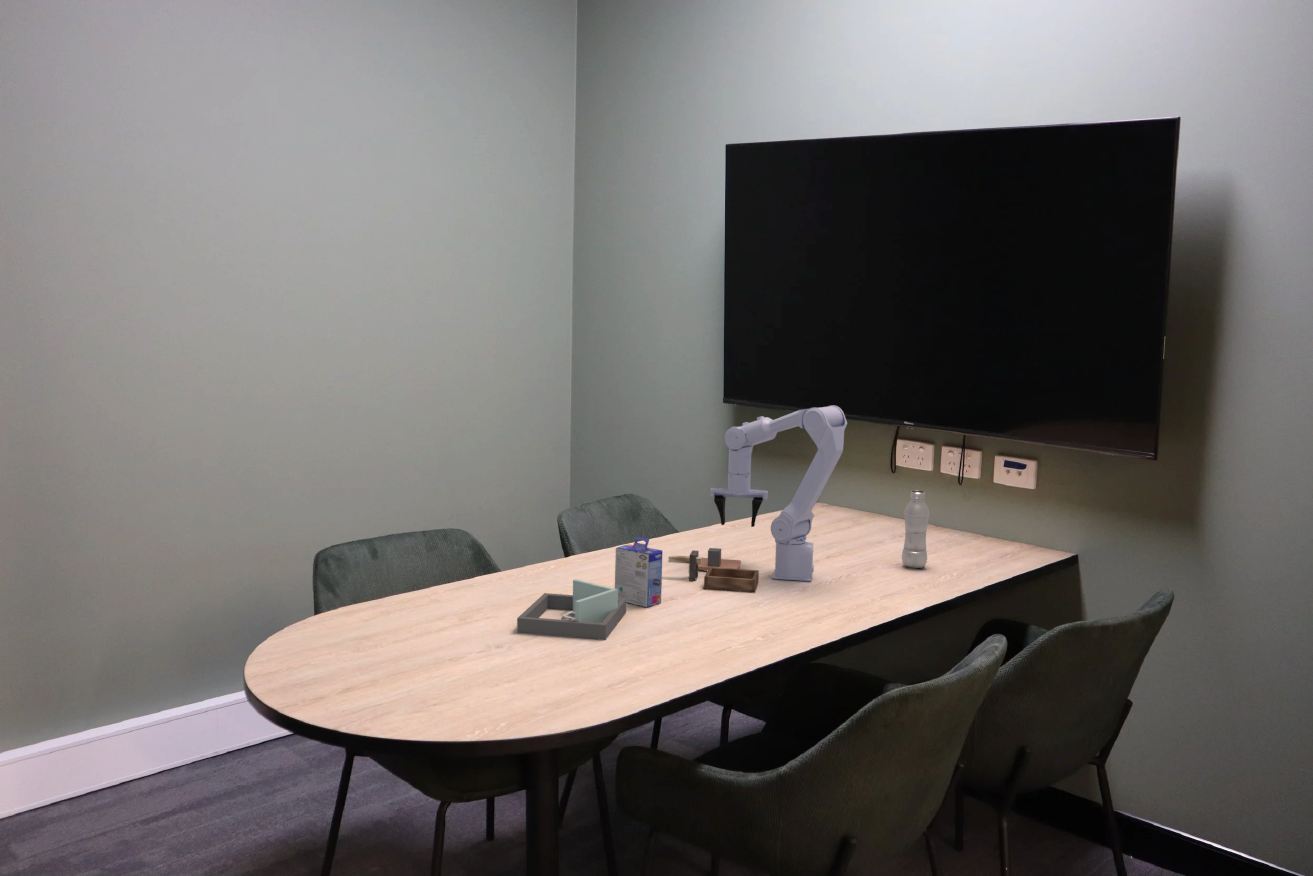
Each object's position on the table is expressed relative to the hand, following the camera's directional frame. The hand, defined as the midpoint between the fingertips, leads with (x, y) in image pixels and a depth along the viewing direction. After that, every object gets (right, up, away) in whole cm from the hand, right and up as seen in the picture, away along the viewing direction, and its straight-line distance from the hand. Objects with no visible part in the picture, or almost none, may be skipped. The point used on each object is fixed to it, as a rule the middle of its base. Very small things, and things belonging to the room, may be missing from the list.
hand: (738, 525), depth 257 cm
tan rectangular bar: (-14, -8, -13) cm, 21 cm away
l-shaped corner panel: (-38, -17, -48) cm, 63 cm away
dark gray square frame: (-38, -16, -48) cm, 63 cm away
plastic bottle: (+46, -11, +2) cm, 47 cm away
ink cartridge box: (-25, -15, -32) cm, 43 cm away
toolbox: (-5, -13, -17) cm, 22 cm away
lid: (-6, -11, -2) cm, 13 cm away
